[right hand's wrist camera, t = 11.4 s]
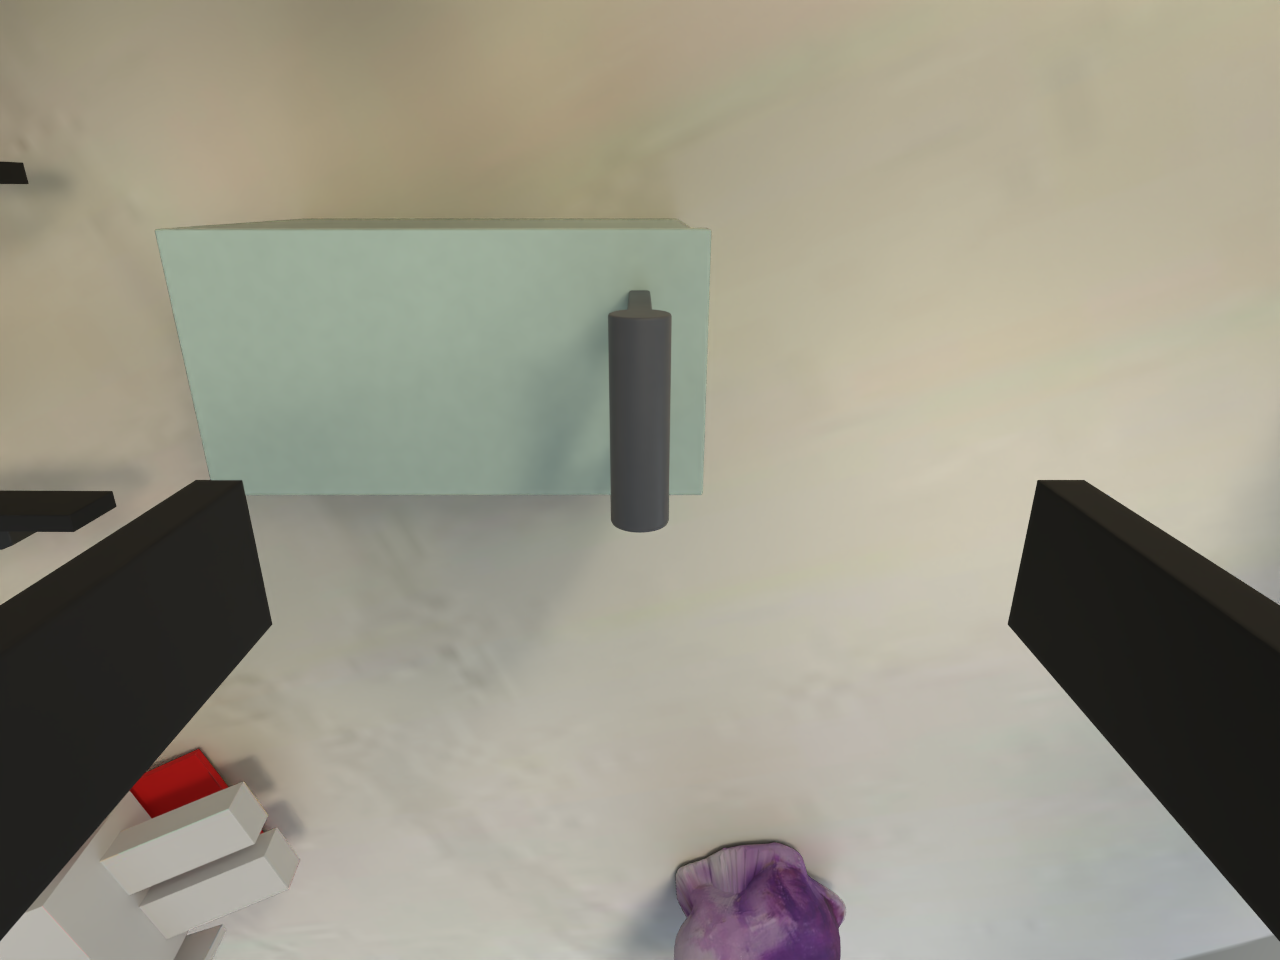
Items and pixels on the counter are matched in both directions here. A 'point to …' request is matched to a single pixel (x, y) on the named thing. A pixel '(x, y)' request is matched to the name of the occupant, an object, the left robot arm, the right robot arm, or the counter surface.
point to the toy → (158, 873)
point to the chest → (459, 223)
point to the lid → (448, 360)
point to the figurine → (756, 907)
